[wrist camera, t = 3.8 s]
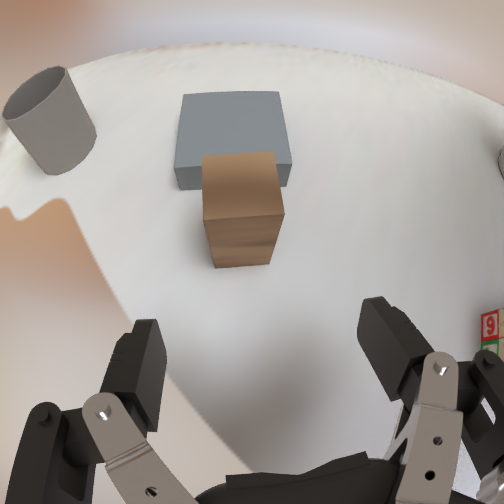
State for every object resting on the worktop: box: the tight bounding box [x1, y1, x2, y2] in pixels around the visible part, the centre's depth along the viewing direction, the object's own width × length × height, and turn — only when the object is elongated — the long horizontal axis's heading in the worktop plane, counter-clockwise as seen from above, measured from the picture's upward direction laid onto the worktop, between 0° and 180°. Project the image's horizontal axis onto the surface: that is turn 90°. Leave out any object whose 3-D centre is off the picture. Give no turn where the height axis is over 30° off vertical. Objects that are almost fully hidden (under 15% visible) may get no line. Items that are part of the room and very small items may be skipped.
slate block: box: [174, 91, 292, 190], centre depth 27 cm, size 10×10×4 cm
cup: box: [1, 65, 97, 175], centre depth 24 cm, size 8×8×10 cm
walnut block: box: [202, 152, 285, 268], centre depth 21 cm, size 4×4×9 cm
